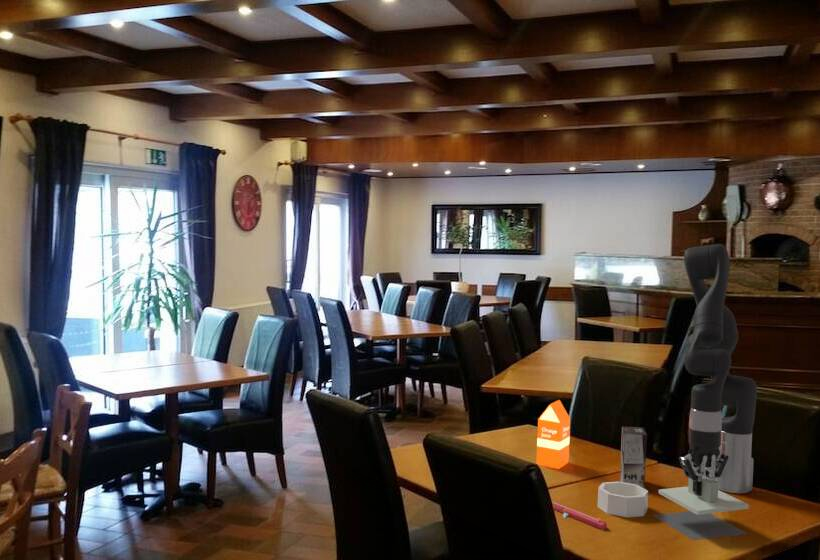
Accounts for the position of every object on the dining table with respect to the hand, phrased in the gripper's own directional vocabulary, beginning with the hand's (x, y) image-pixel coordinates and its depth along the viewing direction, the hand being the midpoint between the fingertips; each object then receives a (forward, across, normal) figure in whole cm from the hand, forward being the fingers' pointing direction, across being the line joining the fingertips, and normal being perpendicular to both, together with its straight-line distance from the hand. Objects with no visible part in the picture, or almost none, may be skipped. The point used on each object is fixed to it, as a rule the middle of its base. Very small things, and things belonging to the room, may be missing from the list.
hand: (702, 494), depth 182 cm
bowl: (+8, +14, -14) cm, 21 cm away
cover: (+2, 0, 0) cm, 2 cm away
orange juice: (+8, +12, -55) cm, 57 cm away
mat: (+8, +1, 0) cm, 8 cm away
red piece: (+8, +30, -15) cm, 35 cm away
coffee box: (+9, -2, -32) cm, 33 cm away
